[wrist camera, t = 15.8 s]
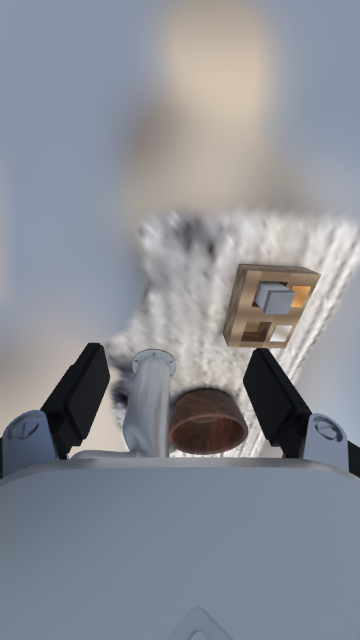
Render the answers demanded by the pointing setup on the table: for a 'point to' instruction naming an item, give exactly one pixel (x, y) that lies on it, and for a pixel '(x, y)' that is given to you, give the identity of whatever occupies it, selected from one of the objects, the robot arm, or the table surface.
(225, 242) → the table surface
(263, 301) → the plug
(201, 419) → the wooden bowl
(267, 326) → the socket block
